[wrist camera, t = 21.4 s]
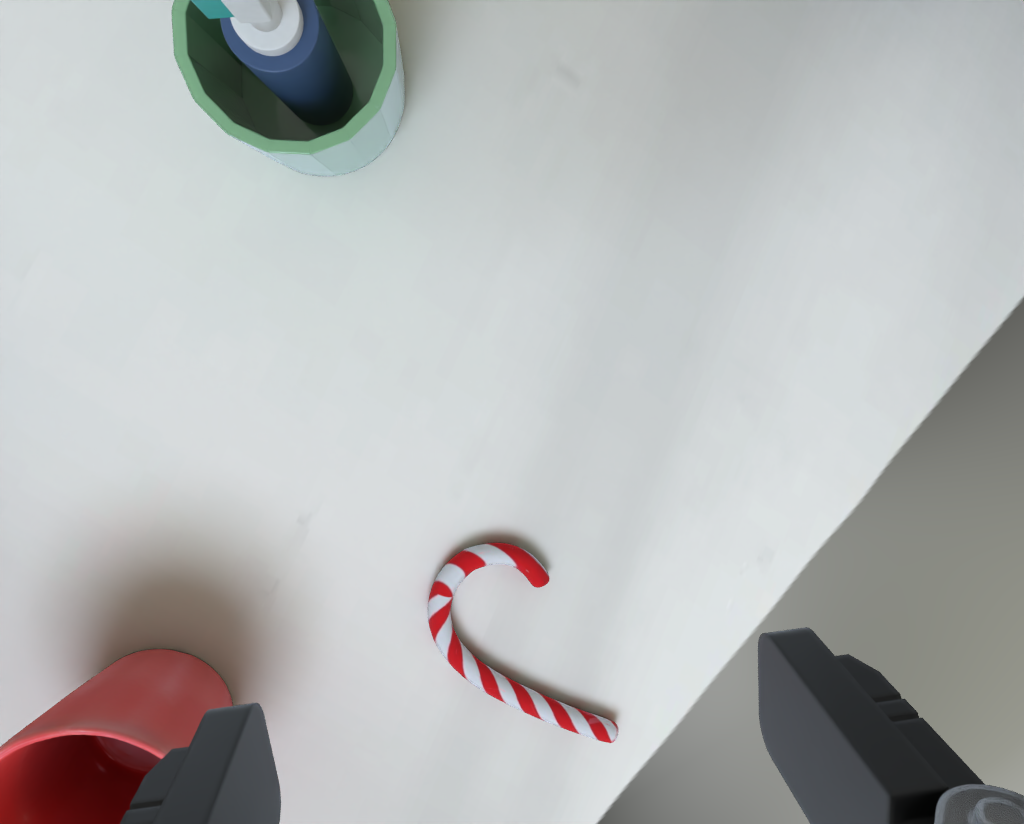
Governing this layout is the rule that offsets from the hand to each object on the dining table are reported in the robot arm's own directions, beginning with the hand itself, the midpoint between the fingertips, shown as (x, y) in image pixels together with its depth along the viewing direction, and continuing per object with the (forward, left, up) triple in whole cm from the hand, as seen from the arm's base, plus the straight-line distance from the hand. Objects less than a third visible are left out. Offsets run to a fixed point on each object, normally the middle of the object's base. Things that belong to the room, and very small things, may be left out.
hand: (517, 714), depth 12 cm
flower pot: (+23, -8, -29) cm, 38 cm away
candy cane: (+12, +10, -29) cm, 33 cm away
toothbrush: (-11, -12, -28) cm, 32 cm away
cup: (-11, -12, -29) cm, 33 cm away
